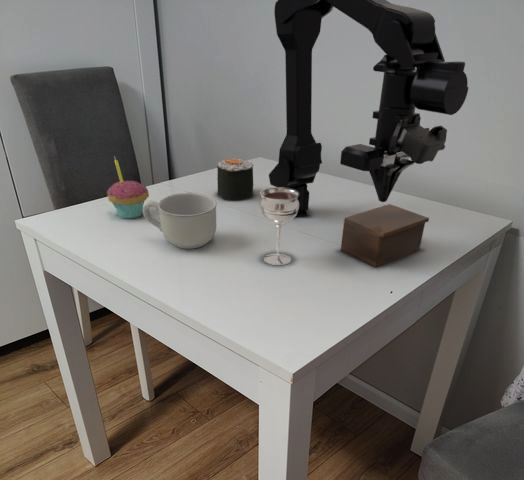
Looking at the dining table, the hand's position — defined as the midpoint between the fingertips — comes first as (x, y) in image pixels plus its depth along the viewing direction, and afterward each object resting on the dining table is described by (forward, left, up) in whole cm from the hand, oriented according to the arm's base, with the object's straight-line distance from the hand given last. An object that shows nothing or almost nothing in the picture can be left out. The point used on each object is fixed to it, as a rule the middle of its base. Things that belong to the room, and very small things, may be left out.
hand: (382, 201), depth 88 cm
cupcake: (-47, +24, -9) cm, 54 cm away
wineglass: (-19, -2, -9) cm, 22 cm away
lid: (+1, -1, -3) cm, 4 cm away
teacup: (-36, +8, -9) cm, 38 cm away
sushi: (-23, +35, -9) cm, 43 cm away
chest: (+1, -1, -9) cm, 9 cm away
